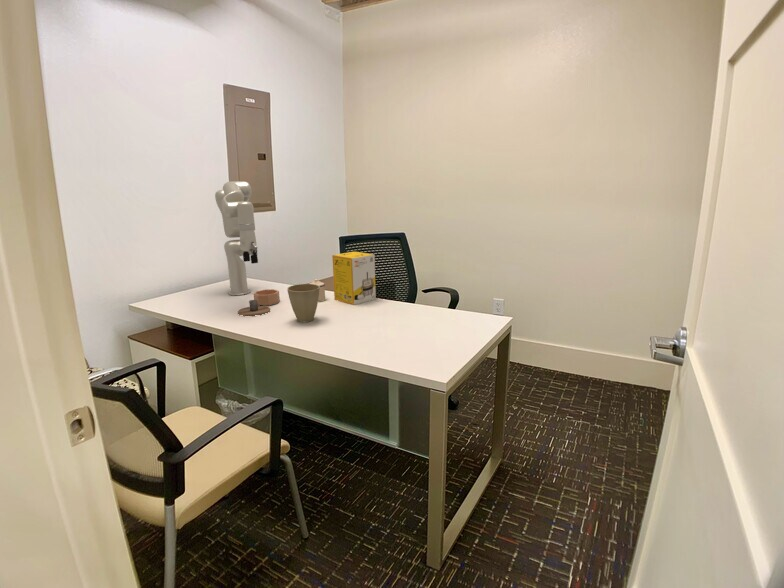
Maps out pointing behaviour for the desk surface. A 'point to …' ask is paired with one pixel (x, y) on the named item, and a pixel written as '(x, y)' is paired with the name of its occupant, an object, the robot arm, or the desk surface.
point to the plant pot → (304, 300)
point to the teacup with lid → (321, 290)
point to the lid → (254, 309)
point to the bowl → (267, 297)
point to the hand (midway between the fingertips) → (250, 262)
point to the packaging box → (354, 277)
